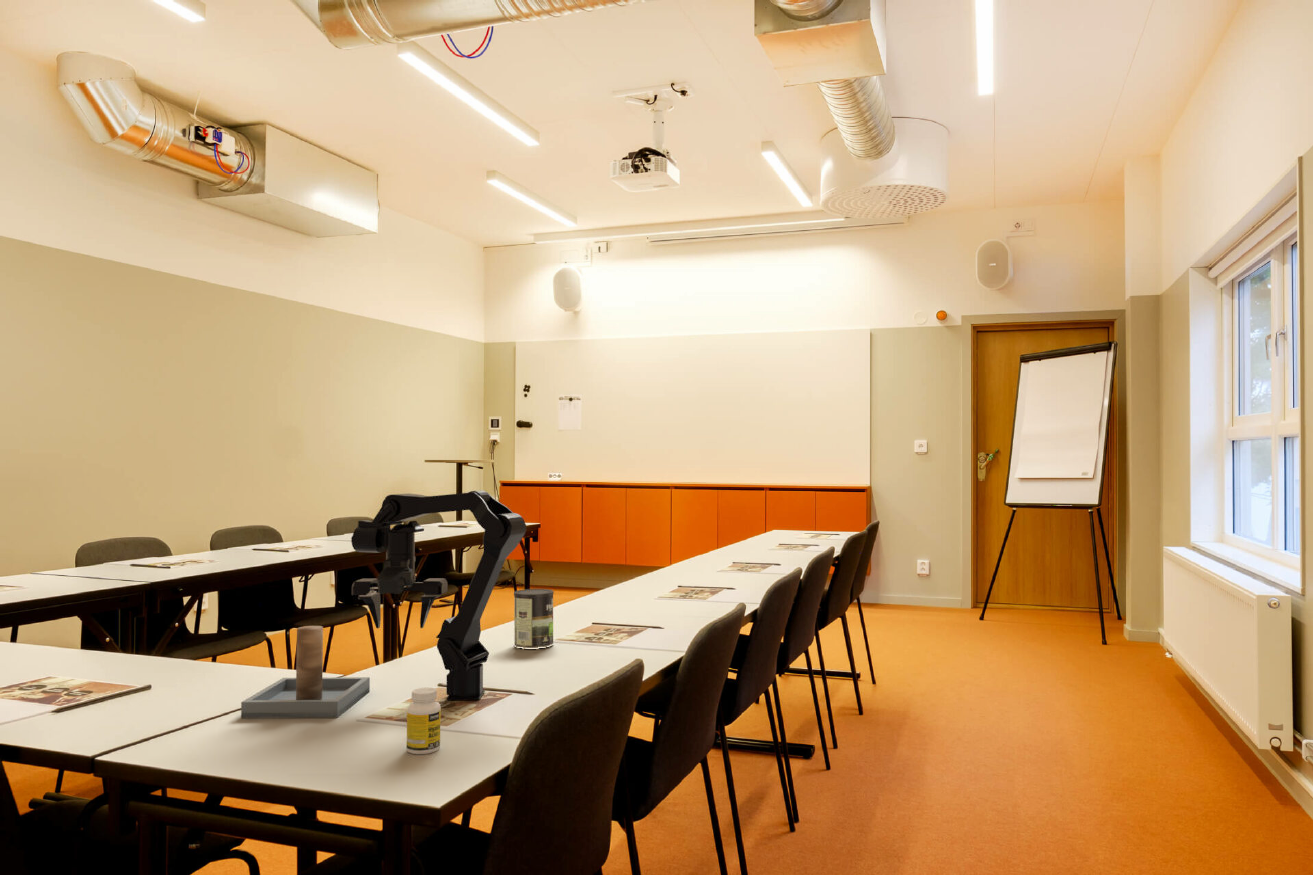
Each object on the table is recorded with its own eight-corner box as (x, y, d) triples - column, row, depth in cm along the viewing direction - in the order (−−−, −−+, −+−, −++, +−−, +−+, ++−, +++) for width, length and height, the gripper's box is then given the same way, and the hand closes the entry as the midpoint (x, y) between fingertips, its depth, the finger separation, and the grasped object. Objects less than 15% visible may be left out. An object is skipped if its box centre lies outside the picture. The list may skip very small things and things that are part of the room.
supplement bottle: (431, 756, 138) (431, 695, 138) (400, 754, 139) (400, 693, 139) (446, 745, 143) (446, 686, 143) (416, 743, 144) (416, 685, 144)
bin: (369, 691, 177) (369, 677, 177) (337, 717, 159) (337, 701, 159) (283, 692, 177) (283, 677, 177) (241, 718, 159) (241, 702, 159)
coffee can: (556, 641, 226) (556, 588, 226) (550, 649, 216) (550, 594, 216) (517, 641, 226) (517, 588, 226) (510, 650, 216) (510, 594, 216)
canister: (325, 695, 170) (326, 625, 171) (316, 702, 165) (317, 630, 166) (302, 695, 170) (302, 625, 170) (291, 702, 165) (292, 630, 166)
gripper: (342, 557, 171) (341, 635, 170) (434, 557, 171) (434, 635, 170) (361, 552, 182) (360, 625, 181) (448, 551, 182) (448, 625, 181)
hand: (400, 627), depth 178 cm, fingers open, 9 cm apart
